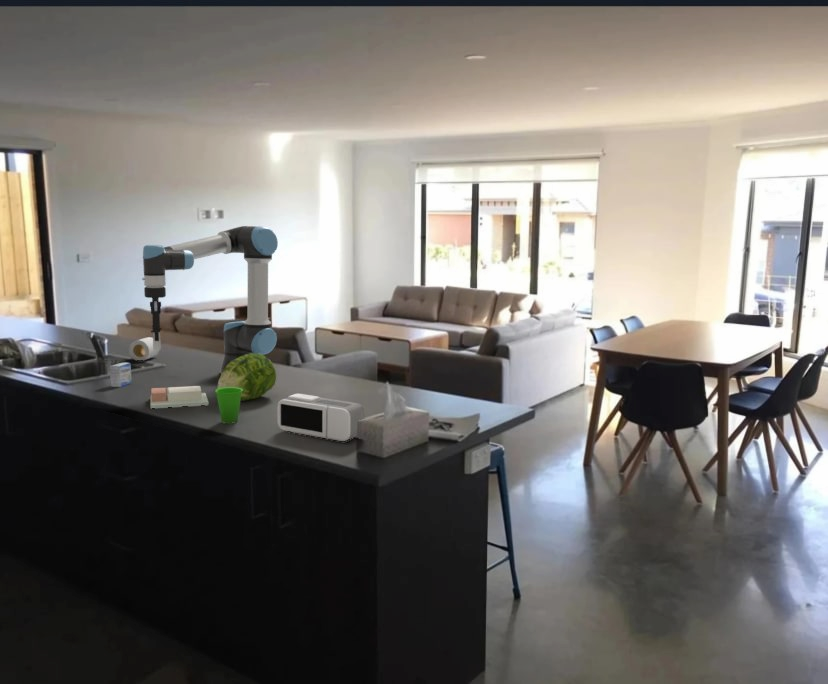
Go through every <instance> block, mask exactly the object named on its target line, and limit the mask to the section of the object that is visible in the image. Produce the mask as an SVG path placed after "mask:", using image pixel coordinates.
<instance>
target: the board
mask: <svg viewBox="0 0 828 684" xmlns="http://www.w3.org/2000/svg"><path fill="white" fill-rule="evenodd" d="M149 400H150V409H152V408H155V409H168V407H172V408H183V407H182V406H188V407H201V405H205V406H209V399H208V397H207V393H206V392H202V399H192V400H175V401H168V398H167V394H166V401H157V402H152V395H150V396H149Z"/></svg>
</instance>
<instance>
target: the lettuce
mask: <svg viewBox="0 0 828 684" xmlns="http://www.w3.org/2000/svg"><path fill="white" fill-rule="evenodd" d="M220 374H221V373H220ZM276 381H277V371H276V368H275V366H274V364H273V362H272V361H271V360H270V359H269V358H268V357H267V356H265V355H262V354H255V353H250V354H246V355H243V356H241V357H239V358H237V359H234V360H232V361H231V362H229V363H228V364H227V366H226V367H225V369H224V370H223V372H222V374H221V375H220V377H219V379H218V382H217V389H219V388H224V387H237V388H241V389H243V391H242V393H241V400H240V402H245V400H247V401H250V399H251V400H255V399H259V398H260V397H262V396H264V395H266V393H268V392H269V391H271V390H272V389H273V388H274V386H275V384H276Z"/></svg>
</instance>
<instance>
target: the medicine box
mask: <svg viewBox="0 0 828 684" xmlns="http://www.w3.org/2000/svg"><path fill="white" fill-rule="evenodd" d="M131 366H132V365H131V363H130V362H119V363H116V364H114V365H113V364H112V365H110V366H109V371H110V372H109V376H110V377H109V378H110V387H112V388H122V387H125V386H127V385H131V384H132V369H131V368H132V367H131Z"/></svg>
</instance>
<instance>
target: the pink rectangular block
mask: <svg viewBox="0 0 828 684" xmlns="http://www.w3.org/2000/svg"><path fill="white" fill-rule="evenodd" d="M166 395H167V387H155V388H154V387H152V388H151V396H152V402H157V401H166Z"/></svg>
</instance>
